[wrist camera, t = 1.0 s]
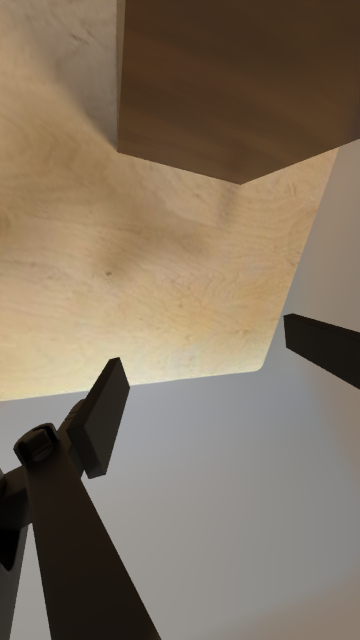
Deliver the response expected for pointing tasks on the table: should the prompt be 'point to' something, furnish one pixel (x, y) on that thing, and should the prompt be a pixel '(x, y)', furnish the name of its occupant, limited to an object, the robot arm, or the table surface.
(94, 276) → the table surface
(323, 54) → the stand
